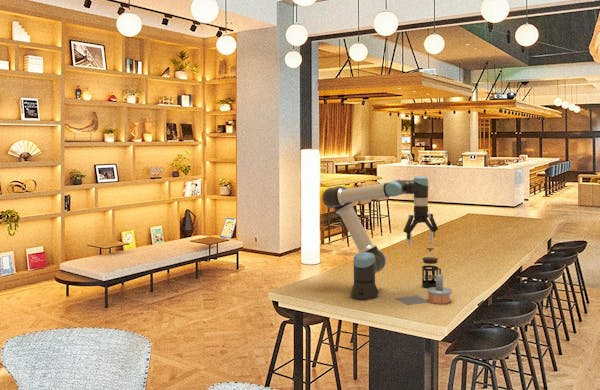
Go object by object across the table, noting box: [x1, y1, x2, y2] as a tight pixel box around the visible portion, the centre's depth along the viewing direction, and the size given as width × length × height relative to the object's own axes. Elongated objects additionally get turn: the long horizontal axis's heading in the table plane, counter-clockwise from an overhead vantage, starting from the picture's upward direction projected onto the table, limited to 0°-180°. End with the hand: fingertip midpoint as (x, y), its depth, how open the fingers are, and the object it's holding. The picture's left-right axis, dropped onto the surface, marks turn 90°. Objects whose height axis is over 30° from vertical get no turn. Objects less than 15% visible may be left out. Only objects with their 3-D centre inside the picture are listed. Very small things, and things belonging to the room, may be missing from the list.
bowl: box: [427, 292, 451, 305], centre depth 293 cm, size 10×10×5 cm
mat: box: [393, 295, 431, 306], centre depth 296 cm, size 14×14×1 cm
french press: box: [421, 247, 442, 289], centre depth 322 cm, size 12×9×23 cm
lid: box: [426, 273, 453, 295], centre depth 293 cm, size 13×13×9 cm
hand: (420, 244), depth 302 cm, fingers open, 13 cm apart
